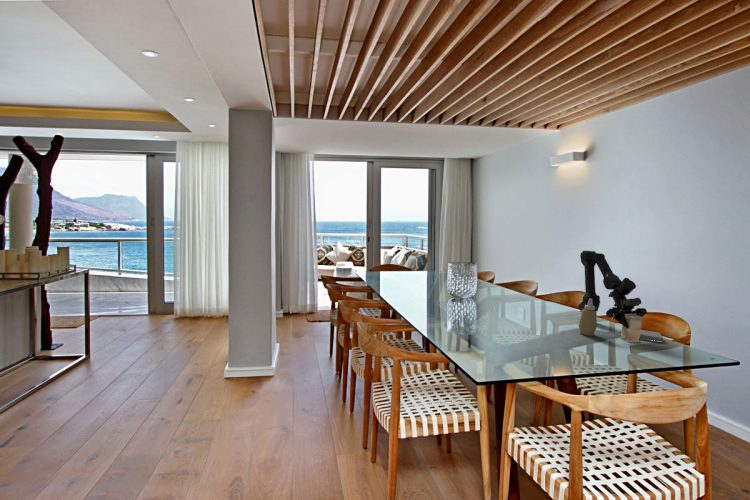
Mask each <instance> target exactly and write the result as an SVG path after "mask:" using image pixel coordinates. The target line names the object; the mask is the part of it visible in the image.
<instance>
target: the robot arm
mask: <svg viewBox="0 0 750 500" xmlns="http://www.w3.org/2000/svg"><path fill="white" fill-rule="evenodd" d="M579 257H580V262H581V264H582V265H583V267H584V287H585V289H584V290H585V293H584V294H583V296H582V301H581V302H580V303H579V304H578V305H577V306H578V310H580V311H581V312H580V314H581V313H582V310H583V309H585V305H587V304H588V301H589V299H592V302H593V306H595V310H594V311H596V312H598V311H599V308H600V305H601V296H600V295H598V294H597V293H596V275H595V273H596V272H595V266H597V267H598V269H599V271H600V273H601V275H602V277H603V280H602V283H603V287H604V288H605V289H606V290H607V291H609V290H611V291H609V294H608V297H609V298H612V299H613V301H614V305H613V306H611V307H610V308H609V309H608V310H606V312H605V316H606V318H611V319H613V320H616V321H617V322H618V323H620V325H623V326H625V327H626V328H629V326H628V323H627V321H626V318H625V314H635V315H638V316H641V317H642V318H643V317H644V316H645V315H647V314H648V310H647V309H646V308H645V307H640V305H642V299H641V298H640V297H634V298H627V297H626V296H629V295H630V294H631V293H632V292H633V291H634V290H635V289H636V288H637V285H636V283H635V282H634V281H632V280H631V279H629V277H624V278H623V279H622V280H621V278H620V277H619V276H618V275H616V274H615V273H614V272H613V270H612V269H611V267H610V264H609V263H608V261H607V258H606V256H605V254H604V253H601V252H600V253H599V252H598V253H597V252H596V251H595V250H582V252H581V253H580V255H579ZM637 306H639V307H637ZM635 307H637V308H635ZM634 309H635V310H634Z"/></svg>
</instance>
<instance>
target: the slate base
mask: <svg viewBox="0 0 750 500" xmlns="http://www.w3.org/2000/svg"><path fill="white" fill-rule="evenodd" d="M640 340H641V341H646V340H653V341H654V340H655V341H663V342H664V337H663V336H662V334H661V333H660V332H657V331H651V330H646V329H645V330H644V329H641V331H640ZM640 340H639V341H640Z"/></svg>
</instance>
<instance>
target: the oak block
mask: <svg viewBox="0 0 750 500" xmlns="http://www.w3.org/2000/svg"><path fill="white" fill-rule="evenodd" d="M625 318H626V321H627V323H628V326H629V328H626V327H625V326H623V325H622V324H621V325H622V327H621V335H620V340H623V341H624V342H626V343H631V342H639V343H640V340H639V339H640V331H641V330H642V323H643V317H641V316H638V315H635V314H625Z"/></svg>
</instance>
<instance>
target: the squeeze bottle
mask: <svg viewBox="0 0 750 500" xmlns="http://www.w3.org/2000/svg"><path fill="white" fill-rule="evenodd" d="M594 310H595V306H593V302H592V299H589V301H588V304H587V305H585V309H583V310H582V313H581V312H580V318H579V322H578V330H579V334H581V335H583V336H587V337H588V336H594V334H595V332H596V331H597V312H598V311H597V312H596V311H594Z"/></svg>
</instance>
